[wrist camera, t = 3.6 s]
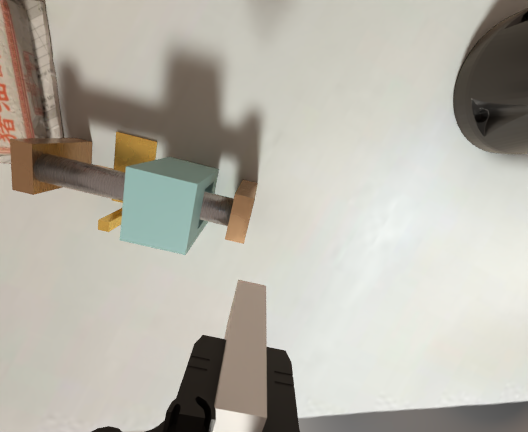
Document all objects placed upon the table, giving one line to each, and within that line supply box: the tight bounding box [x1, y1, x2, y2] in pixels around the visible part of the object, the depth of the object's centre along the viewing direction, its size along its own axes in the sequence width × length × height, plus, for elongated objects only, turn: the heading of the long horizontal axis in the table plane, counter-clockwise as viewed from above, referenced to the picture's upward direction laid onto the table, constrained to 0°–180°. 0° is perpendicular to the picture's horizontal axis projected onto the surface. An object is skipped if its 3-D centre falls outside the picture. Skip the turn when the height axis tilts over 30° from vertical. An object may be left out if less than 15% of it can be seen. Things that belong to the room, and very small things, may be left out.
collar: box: [120, 157, 219, 255], centre depth 27 cm, size 6×7×10 cm
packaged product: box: [0, 0, 63, 164], centre depth 28 cm, size 18×5×10 cm
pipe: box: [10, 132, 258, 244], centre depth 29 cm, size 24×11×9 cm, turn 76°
